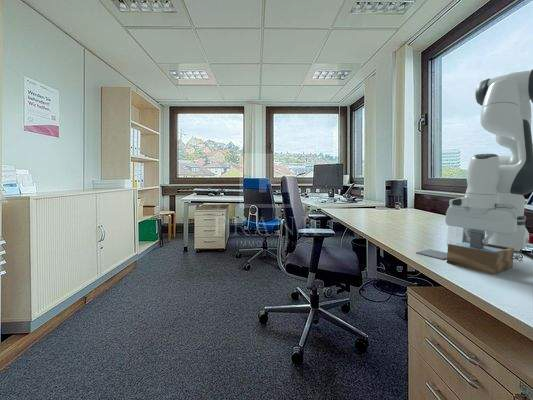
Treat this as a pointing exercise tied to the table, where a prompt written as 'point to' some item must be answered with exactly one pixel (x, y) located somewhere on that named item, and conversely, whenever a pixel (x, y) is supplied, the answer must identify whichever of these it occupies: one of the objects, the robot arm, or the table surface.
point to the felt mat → (434, 254)
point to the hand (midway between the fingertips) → (477, 242)
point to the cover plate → (486, 248)
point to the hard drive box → (458, 234)
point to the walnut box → (481, 258)
